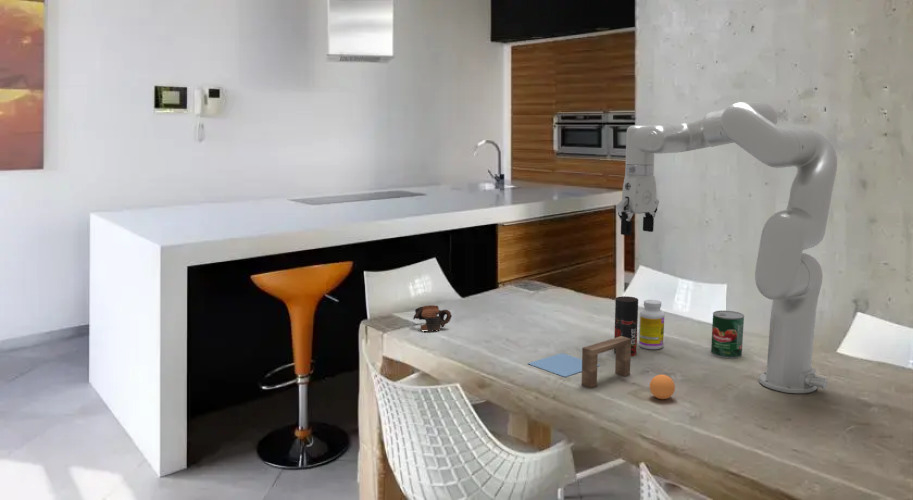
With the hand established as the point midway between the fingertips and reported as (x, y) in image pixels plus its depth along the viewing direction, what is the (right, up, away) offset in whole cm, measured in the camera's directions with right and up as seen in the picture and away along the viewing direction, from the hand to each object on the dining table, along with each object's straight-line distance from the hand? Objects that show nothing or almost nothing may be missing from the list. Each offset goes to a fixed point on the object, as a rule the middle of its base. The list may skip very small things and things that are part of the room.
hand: (637, 233), depth 204 cm
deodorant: (-4, -33, -4) cm, 33 cm away
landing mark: (-22, -34, -14) cm, 43 cm away
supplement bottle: (+4, -32, +1) cm, 32 cm away
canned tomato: (+22, -33, -6) cm, 40 cm away
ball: (-4, -36, -37) cm, 52 cm away
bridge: (-14, -36, -25) cm, 46 cm away
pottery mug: (-57, -29, +20) cm, 67 cm away
